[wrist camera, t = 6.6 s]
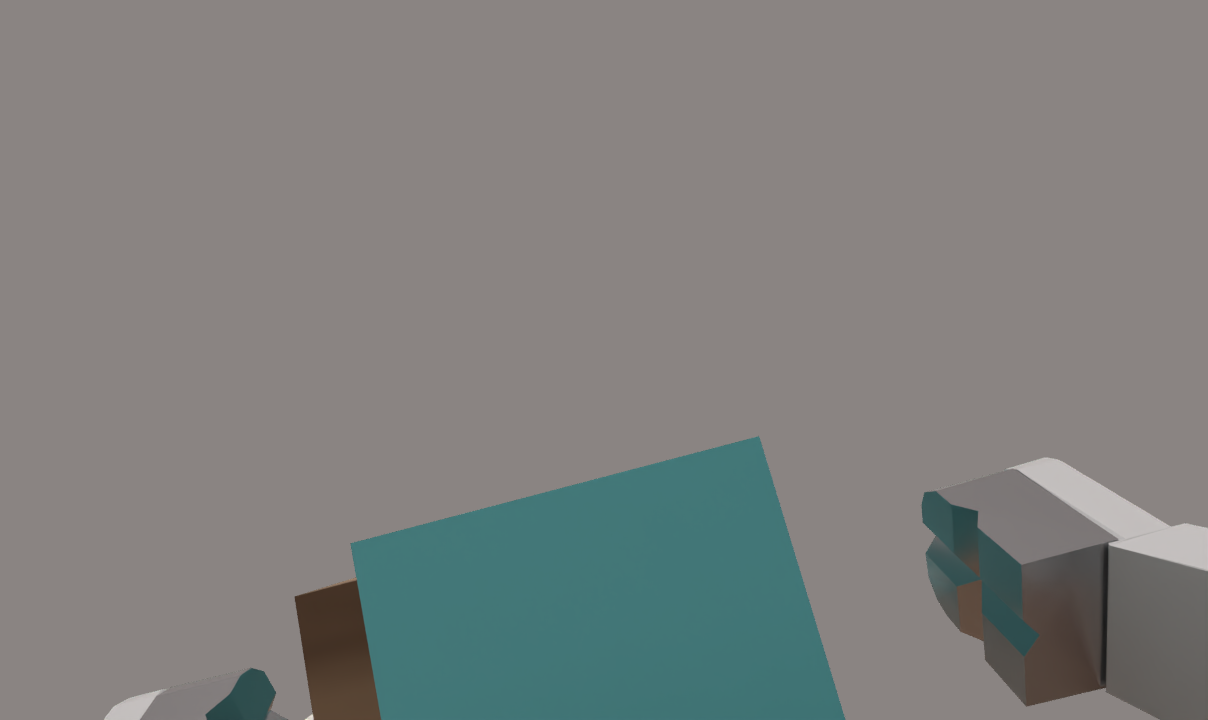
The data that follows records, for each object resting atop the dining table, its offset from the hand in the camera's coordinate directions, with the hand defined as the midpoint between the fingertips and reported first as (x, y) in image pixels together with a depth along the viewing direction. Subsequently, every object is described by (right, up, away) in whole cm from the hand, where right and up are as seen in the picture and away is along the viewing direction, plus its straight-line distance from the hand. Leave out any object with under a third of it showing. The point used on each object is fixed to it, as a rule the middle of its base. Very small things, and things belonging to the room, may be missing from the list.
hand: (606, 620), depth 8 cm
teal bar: (+1, -4, +9) cm, 9 cm away
